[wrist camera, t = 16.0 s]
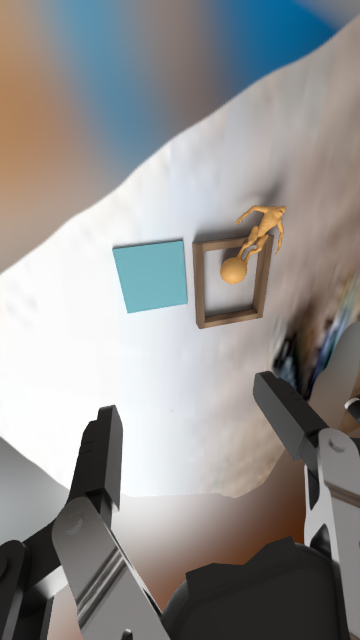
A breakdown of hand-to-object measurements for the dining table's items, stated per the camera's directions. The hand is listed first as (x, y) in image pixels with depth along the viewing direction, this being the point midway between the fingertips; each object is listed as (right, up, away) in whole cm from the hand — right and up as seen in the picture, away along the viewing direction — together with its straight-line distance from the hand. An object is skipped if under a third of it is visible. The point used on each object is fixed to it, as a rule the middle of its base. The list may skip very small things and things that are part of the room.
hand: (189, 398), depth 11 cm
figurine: (+6, +11, +21) cm, 25 cm away
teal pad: (-5, +11, +20) cm, 23 cm away
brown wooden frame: (+8, +11, +23) cm, 26 cm away
